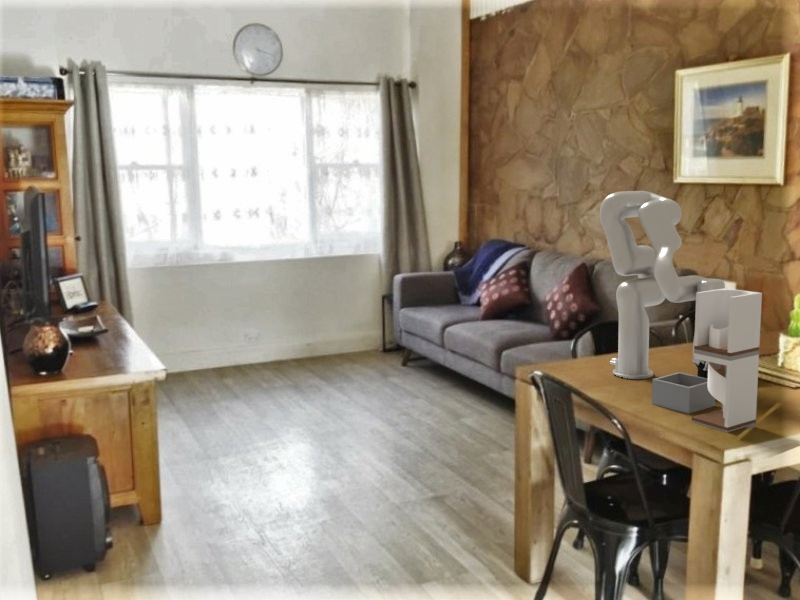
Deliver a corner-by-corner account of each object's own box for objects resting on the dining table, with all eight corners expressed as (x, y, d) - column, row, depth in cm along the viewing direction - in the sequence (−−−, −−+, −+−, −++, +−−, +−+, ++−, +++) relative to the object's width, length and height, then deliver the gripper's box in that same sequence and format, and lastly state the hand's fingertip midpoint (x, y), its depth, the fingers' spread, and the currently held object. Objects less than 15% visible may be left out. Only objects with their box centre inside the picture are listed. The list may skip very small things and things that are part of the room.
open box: (651, 406, 217) (652, 379, 215) (678, 398, 223) (679, 372, 222) (688, 416, 207) (689, 388, 206) (715, 408, 213) (716, 380, 212)
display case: (719, 416, 206) (724, 288, 201) (755, 426, 197) (762, 292, 192) (691, 424, 200) (696, 292, 195) (727, 435, 191) (733, 297, 186)
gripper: (703, 326, 217) (701, 389, 220) (737, 319, 226) (735, 379, 229) (680, 322, 223) (678, 383, 226) (715, 315, 232) (712, 374, 235)
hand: (707, 380), depth 227 cm, fingers open, 3 cm apart
